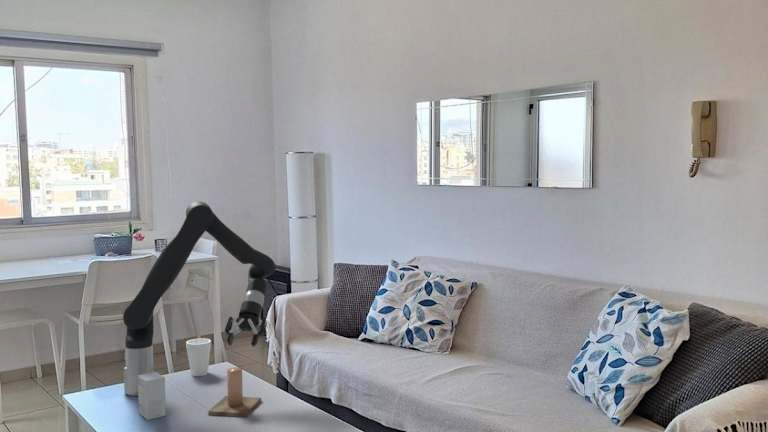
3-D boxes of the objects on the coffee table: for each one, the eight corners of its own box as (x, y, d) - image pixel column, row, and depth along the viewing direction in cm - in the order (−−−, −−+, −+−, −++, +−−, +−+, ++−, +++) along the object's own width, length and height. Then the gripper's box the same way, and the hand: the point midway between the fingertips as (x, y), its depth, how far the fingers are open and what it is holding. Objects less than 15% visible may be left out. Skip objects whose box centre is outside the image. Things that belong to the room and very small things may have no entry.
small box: (166, 415, 220) (165, 377, 219) (147, 420, 216) (146, 381, 215) (157, 409, 227) (156, 371, 226) (138, 413, 223) (137, 375, 222)
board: (208, 414, 221) (208, 411, 221) (225, 399, 236) (225, 395, 236) (246, 416, 219) (246, 413, 219) (261, 401, 234) (261, 397, 234)
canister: (225, 406, 226) (224, 371, 225) (230, 401, 231) (230, 367, 230) (239, 407, 225) (239, 372, 224) (244, 401, 230) (244, 367, 229)
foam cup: (207, 377, 261) (206, 344, 260) (183, 377, 261) (183, 344, 260) (214, 369, 270) (213, 338, 269) (191, 369, 270) (190, 338, 269)
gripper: (230, 299, 242) (218, 338, 232) (268, 300, 240) (258, 340, 230) (236, 310, 248) (224, 349, 238) (273, 311, 246) (263, 351, 235)
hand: (241, 344), depth 234 cm, fingers open, 8 cm apart
